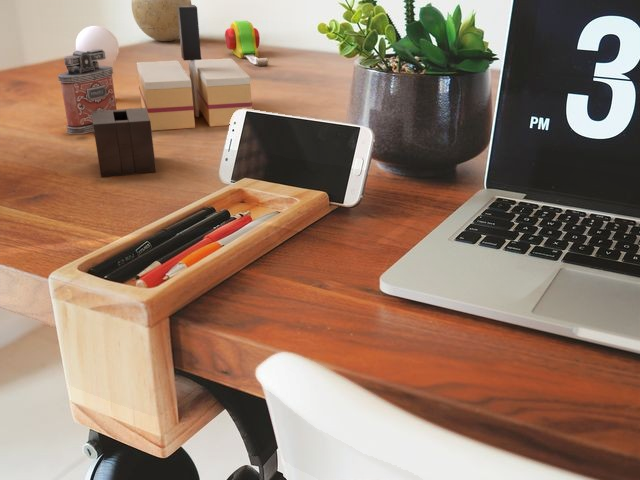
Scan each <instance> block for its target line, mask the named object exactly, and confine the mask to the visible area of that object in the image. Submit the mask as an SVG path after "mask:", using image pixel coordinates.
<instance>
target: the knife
mask: <svg viewBox="0 0 640 480" xmlns="http://www.w3.org/2000/svg"><path fill="white" fill-rule="evenodd" d="M177 11H178V22H179V33H180V37H179V42H180V53H181V59H182V60H183V61H188V69H189V70H188V71H189V78H190V80H191V85H192V87H191V88H192V97H193V106H194V117H195V118H200V109H199V106H198V94H197V82H196V70H195V60H202V51H201V38H200V27H199V25H200V24H199V14H198V7H197V5H196V4H192V5H177Z"/></svg>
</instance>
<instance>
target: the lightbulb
mask: <svg viewBox="0 0 640 480" xmlns="http://www.w3.org/2000/svg"><path fill="white" fill-rule="evenodd" d="M97 49H103V51H105V57H106V59H104V60H98V61H97V62H98V64H99V66H110V67H112V68H113V69H114V67H115V65H116V62H117V60H118V56H119V53H120V45H119V41H118V38H117V37H116V35H114V33H113V32H112V31H111V30H110V29H108V28H106V27H104V26H101V25H89V26H86V27H84V28H83V29H81V31H80V32H79V33H78V35H77V36H76V39H75V51H82V52H87V51H91V50H97ZM112 79H113V80H114V73H113V74H112Z"/></svg>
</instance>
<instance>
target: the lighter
mask: <svg viewBox="0 0 640 480" xmlns="http://www.w3.org/2000/svg"><path fill="white" fill-rule="evenodd" d="M104 59H106V57H105V51H103V49H97V50H91V51H87V52H82V51H76V50H75V51H73V53H72V54H71V55H67V56H63V60H64V65H65V66H66V69H67V71H66V72H62V73H59V74H57V78H58V82H59V83H60V86H61V92H62V98H63V105H64V110H65V116H66V122H67V124H66V132H67V133H68V134H69V135H83V134H88V133H94V127H93V119H92V111H101V110H118V108H117V102H116V93H115V86H114V78H113V79H112V74H113V75H114V68H112V67H110V66H99V64H98V62H97V61H98V60H104Z"/></svg>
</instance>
